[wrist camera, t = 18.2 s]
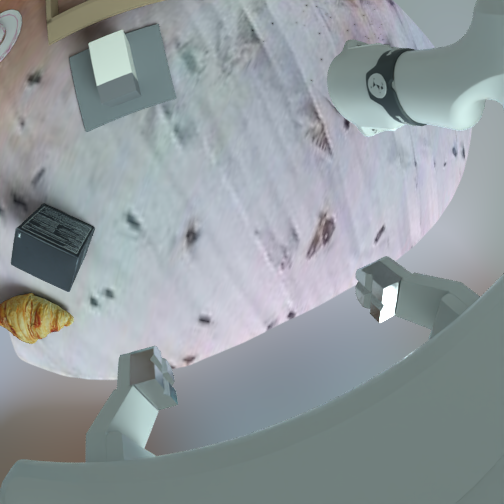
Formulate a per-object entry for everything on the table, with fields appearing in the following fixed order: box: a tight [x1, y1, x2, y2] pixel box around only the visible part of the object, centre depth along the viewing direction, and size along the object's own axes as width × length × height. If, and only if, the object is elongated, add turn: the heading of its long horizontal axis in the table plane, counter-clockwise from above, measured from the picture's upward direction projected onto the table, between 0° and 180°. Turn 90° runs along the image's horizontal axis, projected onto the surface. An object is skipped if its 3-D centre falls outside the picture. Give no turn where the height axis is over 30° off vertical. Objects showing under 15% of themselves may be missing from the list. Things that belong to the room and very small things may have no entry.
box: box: [88, 30, 141, 107], centre depth 26 cm, size 4×9×7 cm, turn 12°
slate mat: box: [69, 24, 176, 132], centre depth 29 cm, size 14×13×1 cm
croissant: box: [0, 293, 74, 344], centre depth 37 cm, size 21×10×8 cm
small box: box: [11, 204, 95, 292], centre depth 32 cm, size 11×6×10 cm, turn 57°
